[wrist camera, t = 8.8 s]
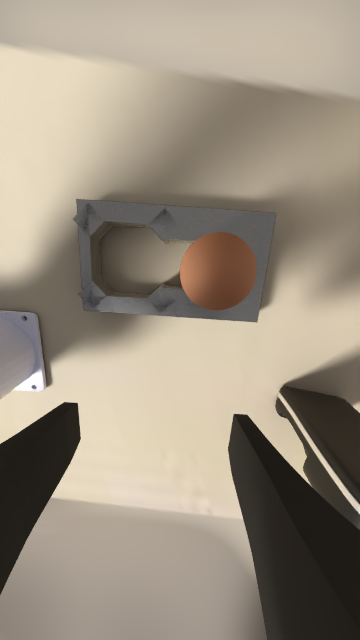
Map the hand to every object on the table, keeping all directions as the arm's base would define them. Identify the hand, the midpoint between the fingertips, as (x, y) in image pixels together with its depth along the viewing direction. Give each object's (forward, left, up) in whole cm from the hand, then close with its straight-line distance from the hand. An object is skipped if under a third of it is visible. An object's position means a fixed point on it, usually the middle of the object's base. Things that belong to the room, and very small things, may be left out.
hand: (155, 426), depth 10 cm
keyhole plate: (0, +7, -10) cm, 13 cm away
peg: (+3, +7, -10) cm, 13 cm away
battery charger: (+14, -6, -11) cm, 19 cm away
